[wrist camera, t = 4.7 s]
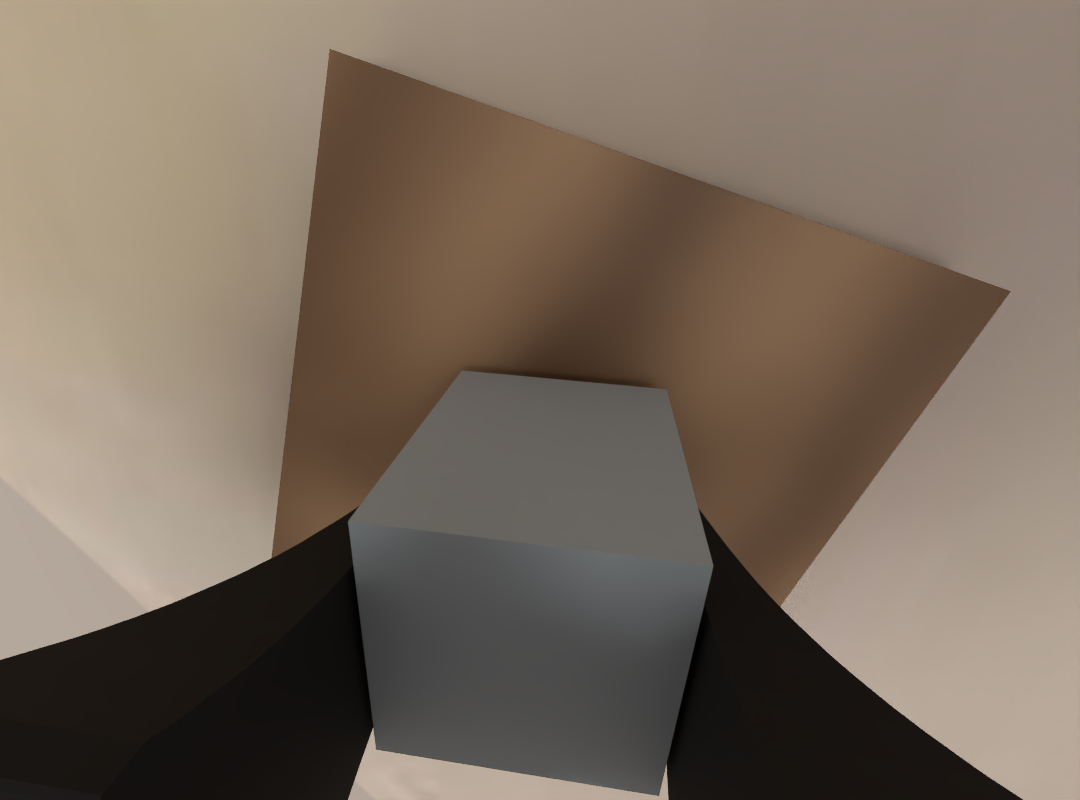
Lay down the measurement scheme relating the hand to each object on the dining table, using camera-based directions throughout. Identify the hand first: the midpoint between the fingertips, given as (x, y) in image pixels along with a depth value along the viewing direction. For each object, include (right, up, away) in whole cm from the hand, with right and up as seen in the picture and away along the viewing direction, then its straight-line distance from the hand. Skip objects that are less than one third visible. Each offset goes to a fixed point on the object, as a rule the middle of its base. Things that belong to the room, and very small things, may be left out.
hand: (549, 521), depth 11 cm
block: (0, +1, +1) cm, 2 cm away
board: (+1, +2, +4) cm, 4 cm away
